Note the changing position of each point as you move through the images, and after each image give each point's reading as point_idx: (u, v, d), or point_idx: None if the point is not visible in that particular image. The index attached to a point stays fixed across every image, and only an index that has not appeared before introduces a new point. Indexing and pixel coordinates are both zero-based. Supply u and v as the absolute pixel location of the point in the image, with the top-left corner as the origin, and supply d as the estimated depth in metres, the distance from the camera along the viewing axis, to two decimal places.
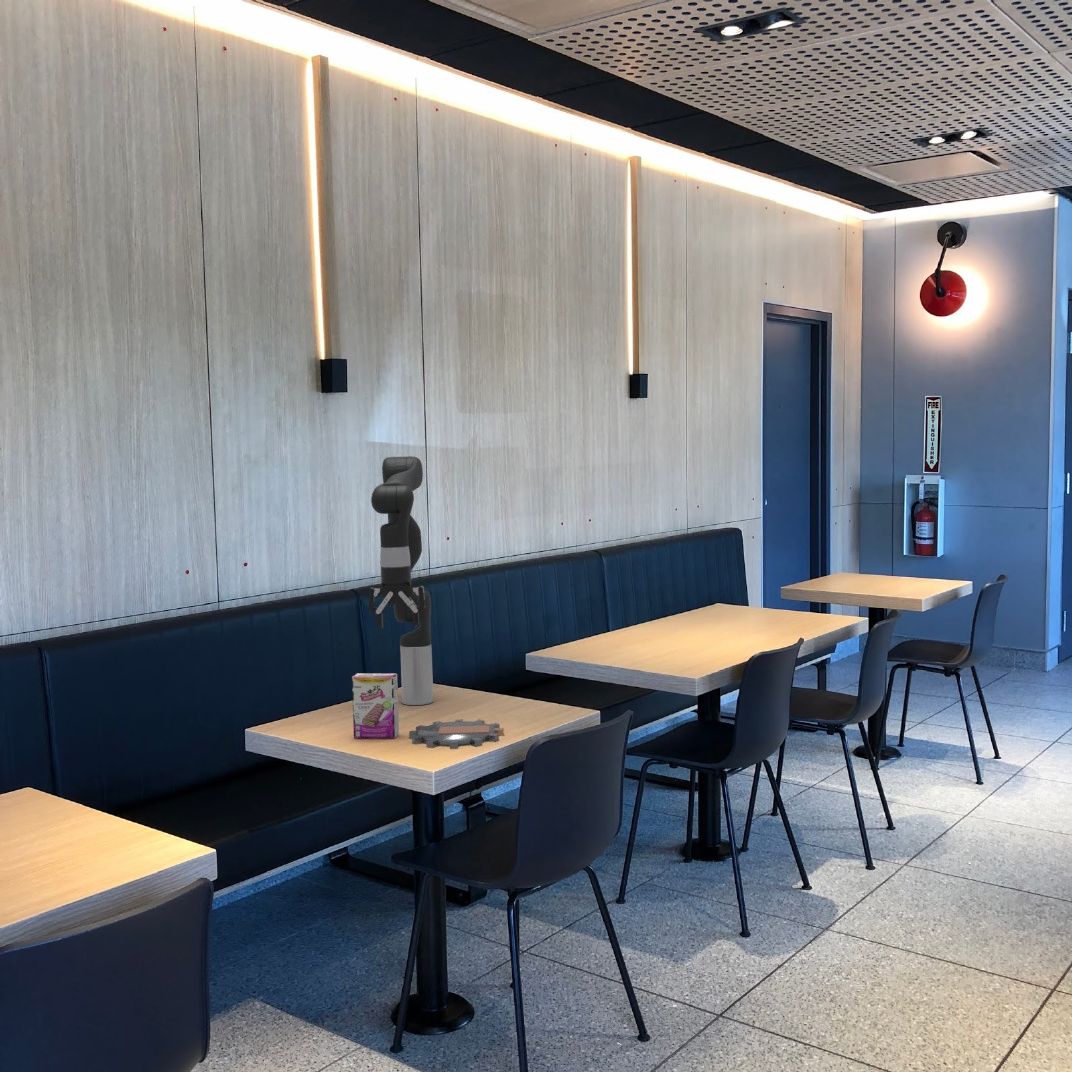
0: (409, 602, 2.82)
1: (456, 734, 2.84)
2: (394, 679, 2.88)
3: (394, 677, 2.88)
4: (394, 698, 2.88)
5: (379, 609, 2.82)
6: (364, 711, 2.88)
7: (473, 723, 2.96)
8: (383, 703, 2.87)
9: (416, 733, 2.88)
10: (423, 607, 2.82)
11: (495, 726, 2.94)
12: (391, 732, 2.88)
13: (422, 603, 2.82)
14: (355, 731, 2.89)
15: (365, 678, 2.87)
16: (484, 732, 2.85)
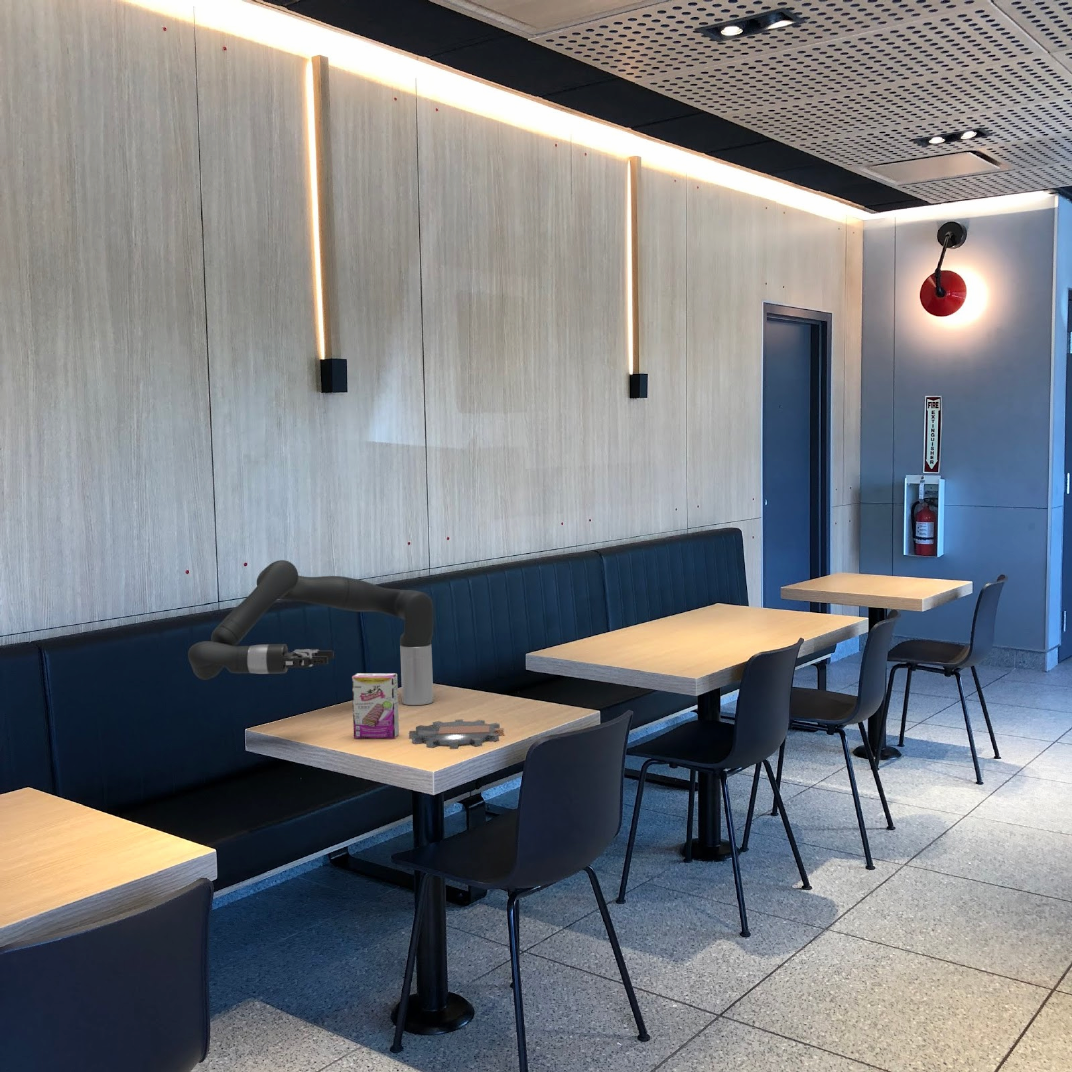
0: None
1: (456, 734, 2.84)
2: (394, 679, 2.88)
3: (394, 677, 2.88)
4: (394, 698, 2.88)
5: None
6: (364, 711, 2.88)
7: (473, 723, 2.96)
8: (383, 703, 2.87)
9: (416, 733, 2.88)
10: (306, 667, 2.82)
11: (495, 726, 2.94)
12: (391, 732, 2.88)
13: None
14: (355, 731, 2.89)
15: (365, 678, 2.87)
16: (484, 732, 2.85)
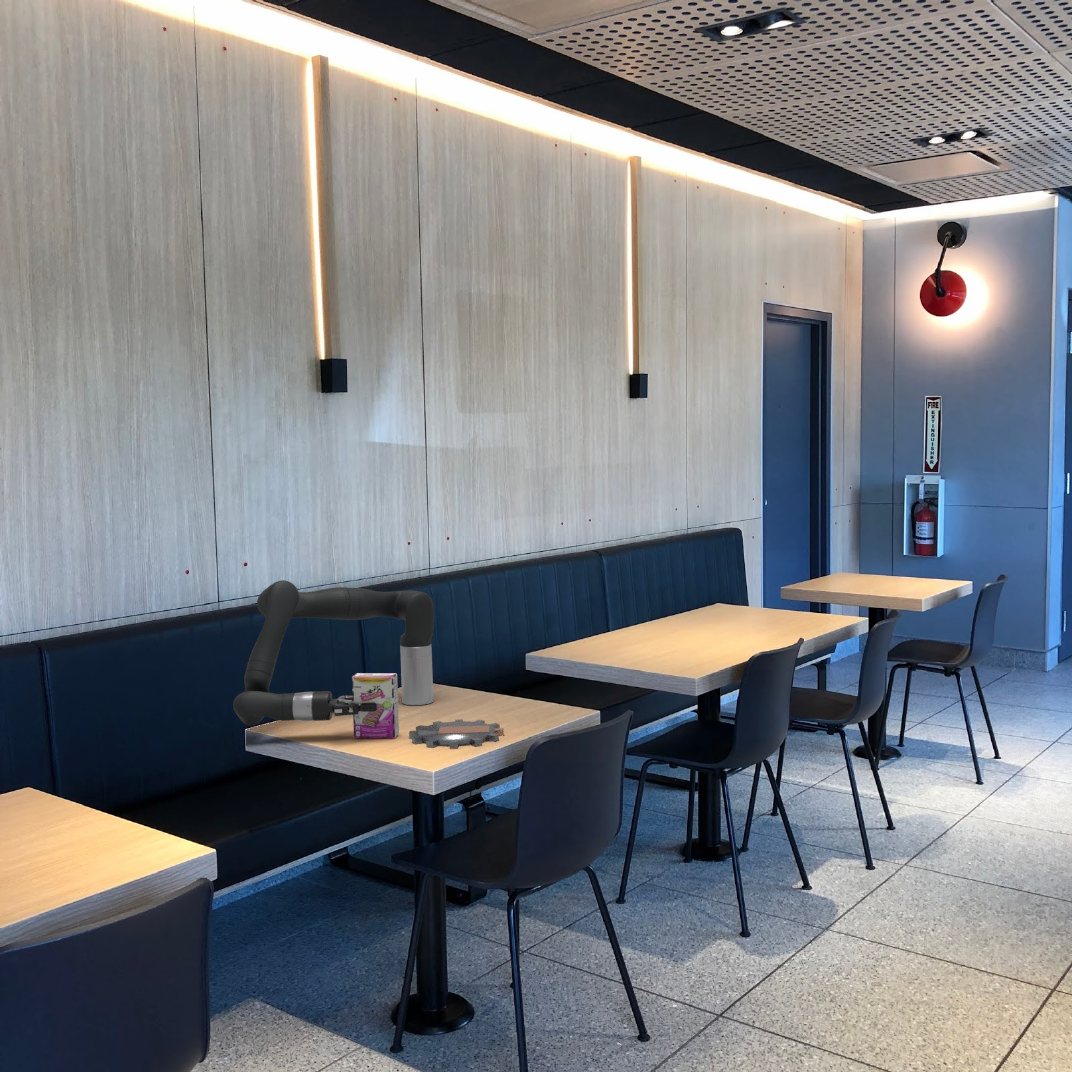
0: None
1: (456, 734, 2.84)
2: (394, 679, 2.88)
3: (394, 677, 2.88)
4: (394, 698, 2.88)
5: None
6: None
7: (473, 723, 2.96)
8: (383, 702, 2.87)
9: (416, 733, 2.88)
10: (355, 714, 2.85)
11: (495, 726, 2.94)
12: (392, 732, 2.88)
13: None
14: (355, 731, 2.89)
15: (365, 678, 2.87)
16: (484, 732, 2.85)
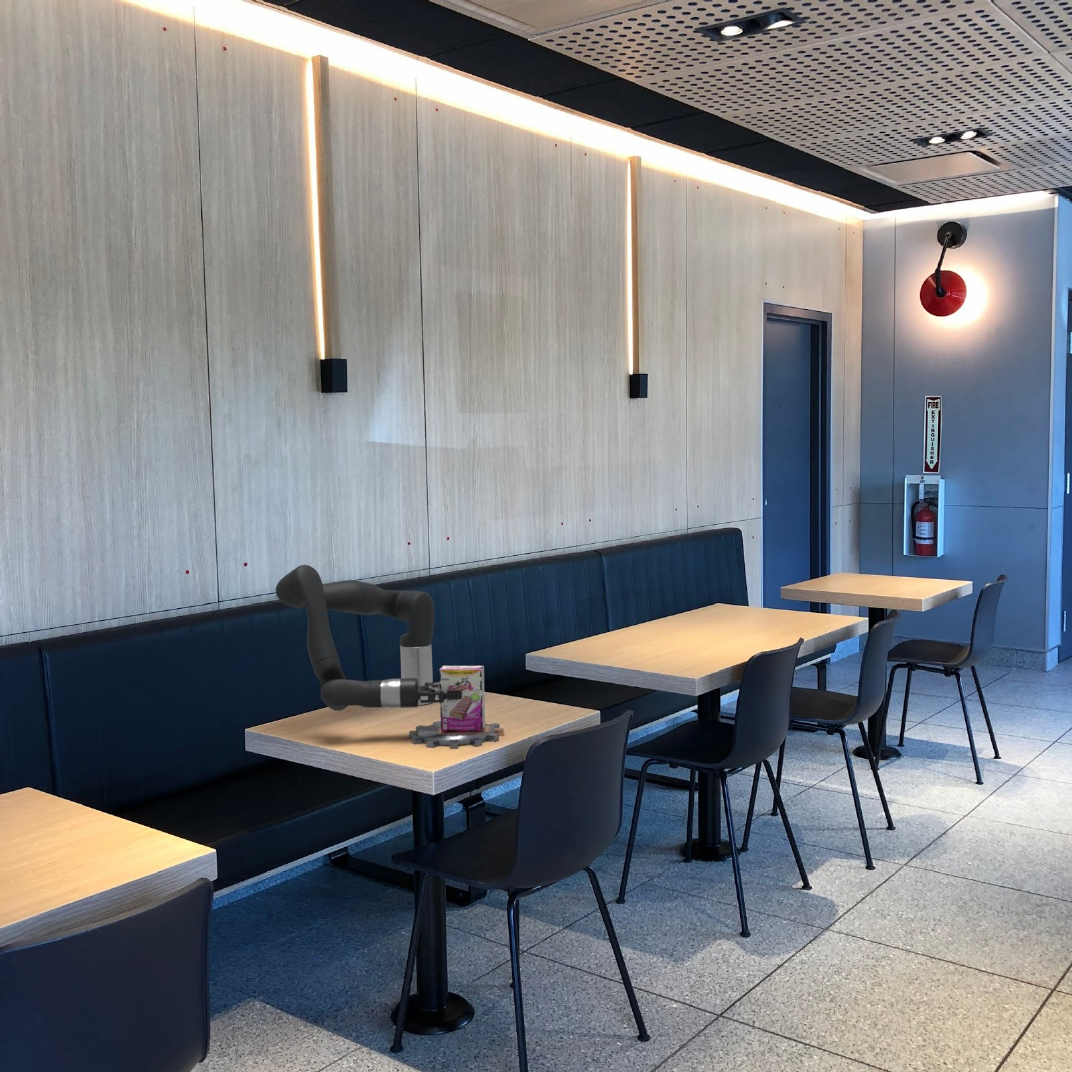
0: None
1: (456, 734, 2.84)
2: (482, 671, 2.86)
3: (482, 669, 2.86)
4: (482, 690, 2.86)
5: None
6: (452, 703, 2.86)
7: None
8: (471, 695, 2.85)
9: (416, 733, 2.88)
10: (441, 702, 2.81)
11: (495, 726, 2.94)
12: (479, 725, 2.86)
13: None
14: (442, 724, 2.87)
15: (453, 670, 2.85)
16: (484, 732, 2.85)
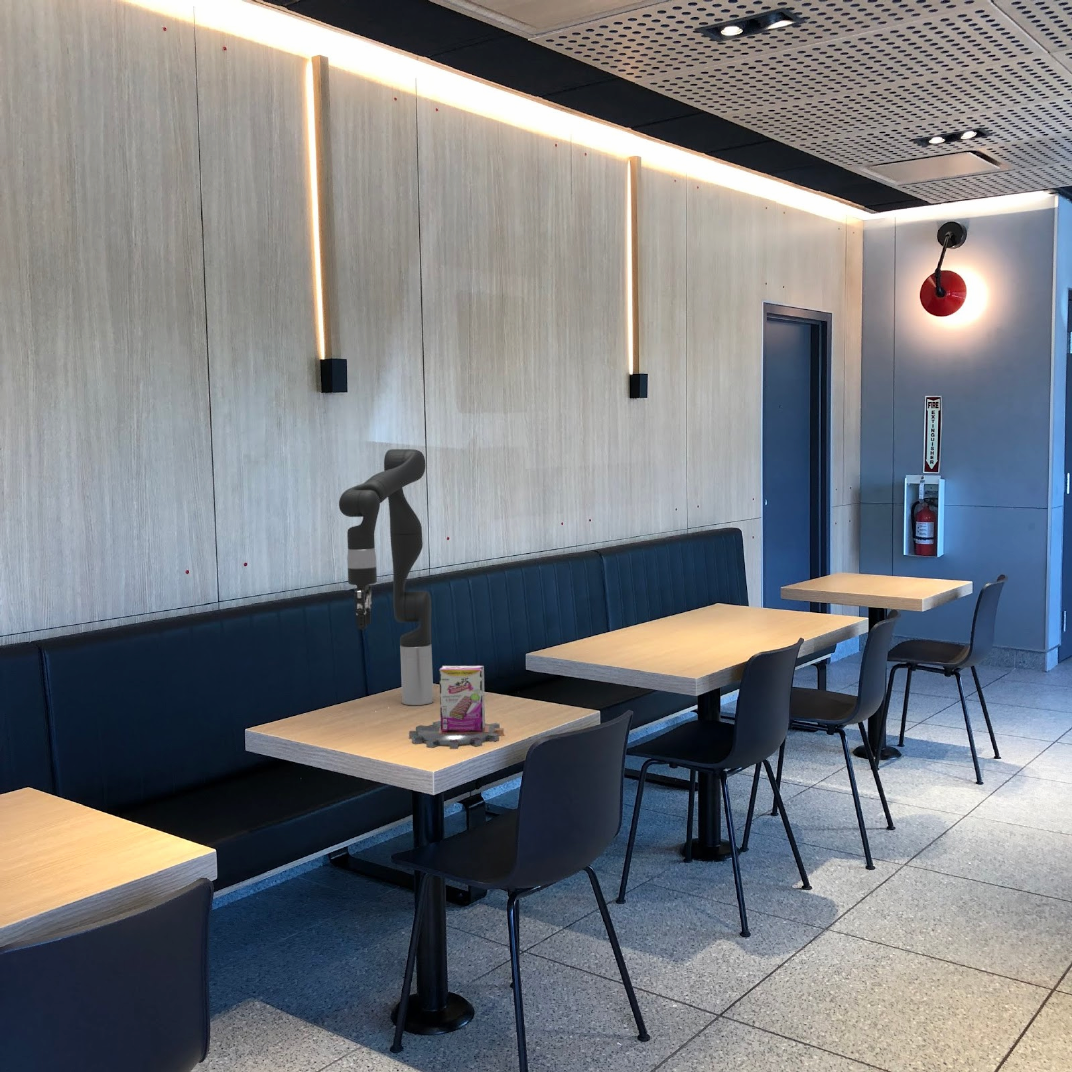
0: None
1: (456, 734, 2.84)
2: (482, 671, 2.86)
3: (482, 669, 2.86)
4: (482, 690, 2.86)
5: None
6: (452, 703, 2.86)
7: None
8: (471, 695, 2.85)
9: (416, 733, 2.88)
10: (355, 611, 2.88)
11: (495, 726, 2.94)
12: (479, 725, 2.86)
13: (355, 607, 2.88)
14: (442, 724, 2.87)
15: (453, 670, 2.85)
16: (484, 732, 2.85)
